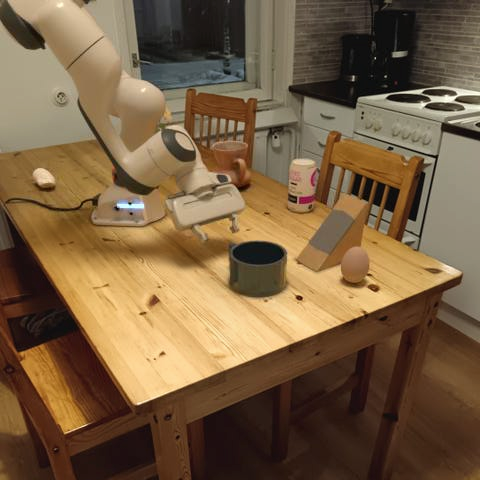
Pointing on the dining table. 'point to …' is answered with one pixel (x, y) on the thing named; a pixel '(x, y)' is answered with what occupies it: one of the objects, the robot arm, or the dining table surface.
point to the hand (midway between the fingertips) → (221, 236)
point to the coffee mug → (257, 268)
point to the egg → (355, 264)
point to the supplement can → (301, 185)
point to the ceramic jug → (232, 161)
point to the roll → (43, 178)
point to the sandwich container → (336, 234)
